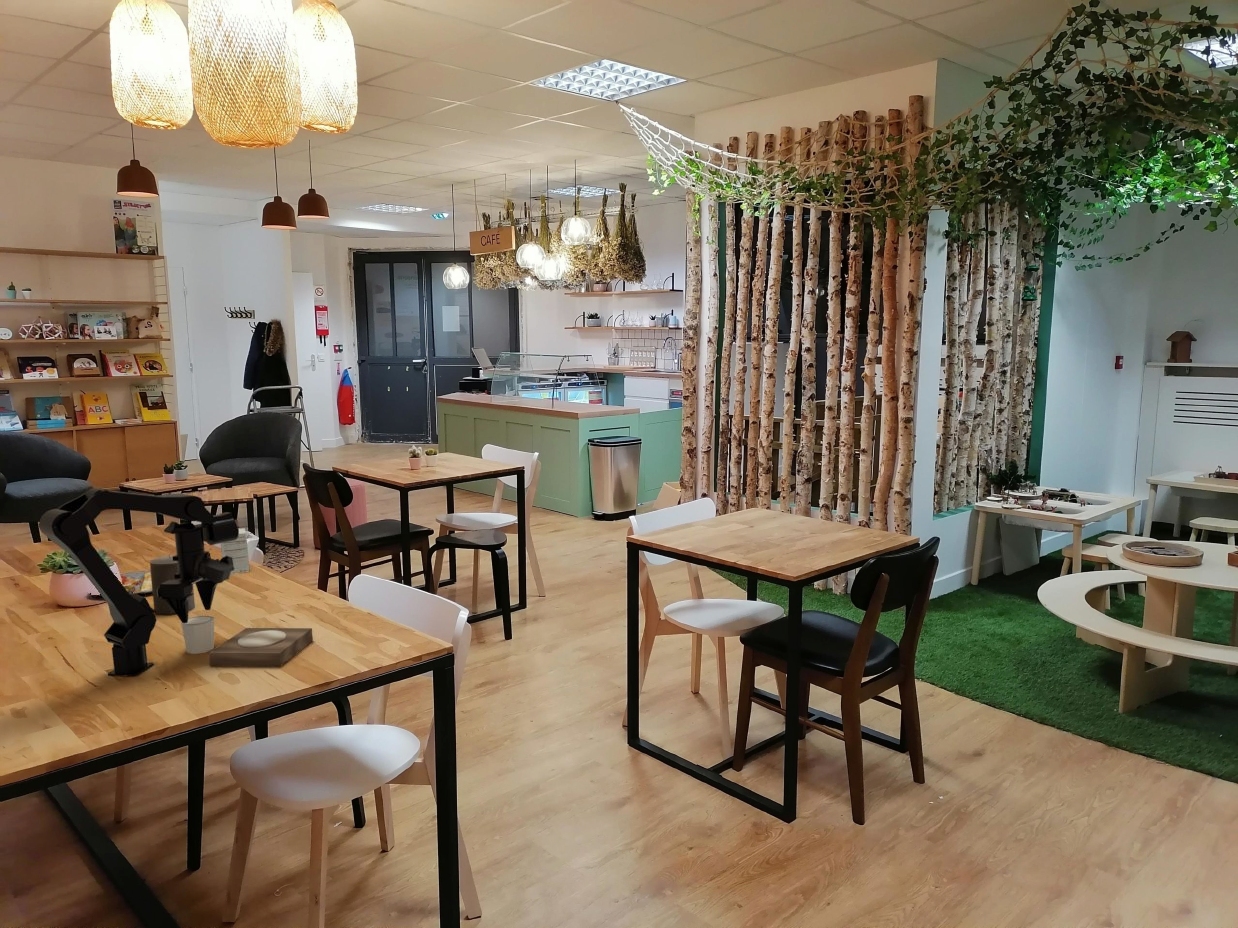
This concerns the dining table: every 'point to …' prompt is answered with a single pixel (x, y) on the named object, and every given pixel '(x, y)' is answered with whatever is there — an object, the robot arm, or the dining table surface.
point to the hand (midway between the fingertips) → (196, 616)
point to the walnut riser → (261, 647)
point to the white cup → (199, 634)
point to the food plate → (137, 582)
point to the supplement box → (237, 552)
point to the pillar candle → (161, 573)
